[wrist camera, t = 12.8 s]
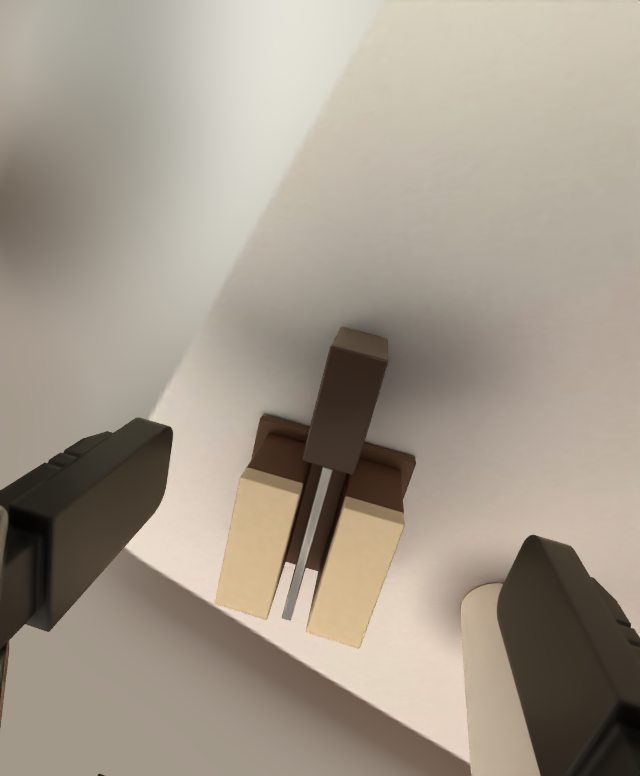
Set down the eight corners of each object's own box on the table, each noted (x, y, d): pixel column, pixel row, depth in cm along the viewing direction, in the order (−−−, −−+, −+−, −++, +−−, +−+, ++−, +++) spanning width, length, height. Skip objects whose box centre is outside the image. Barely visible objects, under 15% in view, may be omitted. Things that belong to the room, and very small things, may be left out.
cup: (546, 661, 22) (719, 1114, 10) (434, 647, 22) (483, 1055, 11) (565, 571, 20) (796, 995, 9) (444, 560, 21) (513, 936, 9)
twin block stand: (263, 413, 20) (229, 461, 15) (415, 456, 19) (423, 517, 15) (236, 538, 22) (200, 609, 18) (371, 579, 22) (368, 662, 17)
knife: (341, 325, 18) (330, 345, 15) (388, 338, 18) (388, 360, 15) (282, 556, 22) (263, 613, 19) (321, 567, 22) (308, 626, 19)
